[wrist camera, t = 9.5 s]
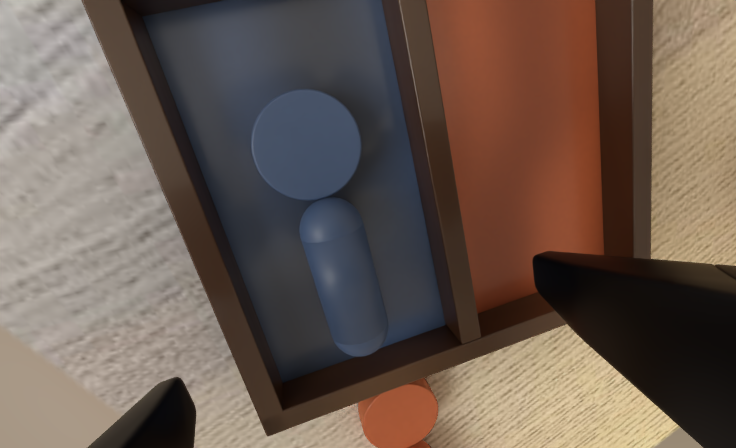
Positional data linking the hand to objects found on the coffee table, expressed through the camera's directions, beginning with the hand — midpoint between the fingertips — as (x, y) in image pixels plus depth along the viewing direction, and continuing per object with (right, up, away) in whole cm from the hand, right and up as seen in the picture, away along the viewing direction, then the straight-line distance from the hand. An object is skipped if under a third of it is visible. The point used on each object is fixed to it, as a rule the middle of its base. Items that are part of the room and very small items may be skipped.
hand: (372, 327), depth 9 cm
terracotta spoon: (+2, -8, +8) cm, 11 cm away
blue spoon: (-1, +2, +4) cm, 4 cm away
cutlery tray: (+2, +4, +4) cm, 6 cm away
